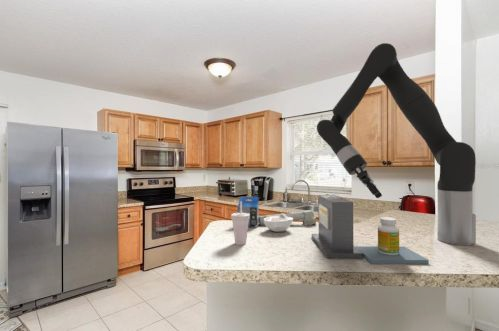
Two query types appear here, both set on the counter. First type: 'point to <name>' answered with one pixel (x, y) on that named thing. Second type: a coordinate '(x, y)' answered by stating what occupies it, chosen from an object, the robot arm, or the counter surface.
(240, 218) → the smoothie
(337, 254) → the mounted unit
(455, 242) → the robot arm
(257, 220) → the label tape box
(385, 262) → the mat
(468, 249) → the counter surface
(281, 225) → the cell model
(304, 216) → the grey knobbed handle
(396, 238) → the supplement bottle
